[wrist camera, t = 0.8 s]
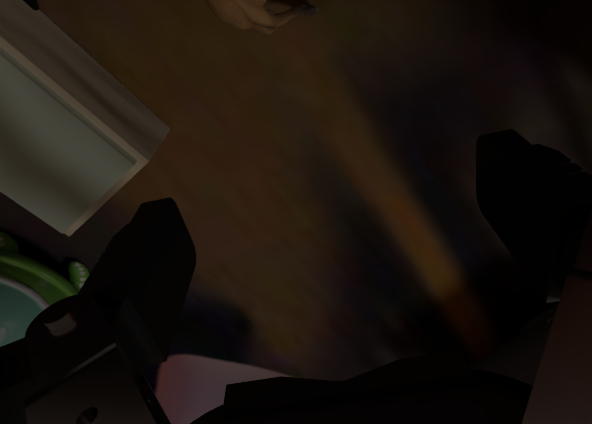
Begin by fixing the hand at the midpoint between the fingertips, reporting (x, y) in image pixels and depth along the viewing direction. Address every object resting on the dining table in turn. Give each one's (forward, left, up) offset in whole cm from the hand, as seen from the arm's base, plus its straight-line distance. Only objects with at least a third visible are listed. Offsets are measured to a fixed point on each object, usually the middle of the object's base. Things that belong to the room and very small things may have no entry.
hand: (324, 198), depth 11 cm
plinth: (+16, -9, -19) cm, 26 cm away
